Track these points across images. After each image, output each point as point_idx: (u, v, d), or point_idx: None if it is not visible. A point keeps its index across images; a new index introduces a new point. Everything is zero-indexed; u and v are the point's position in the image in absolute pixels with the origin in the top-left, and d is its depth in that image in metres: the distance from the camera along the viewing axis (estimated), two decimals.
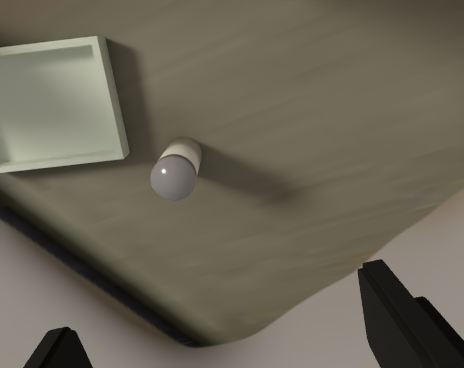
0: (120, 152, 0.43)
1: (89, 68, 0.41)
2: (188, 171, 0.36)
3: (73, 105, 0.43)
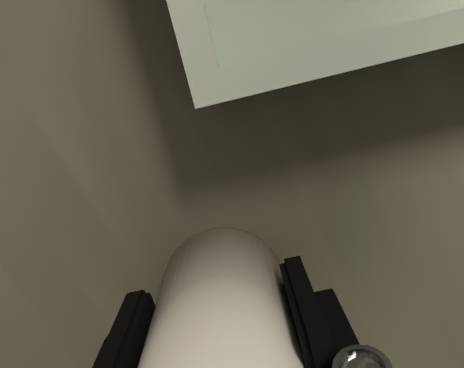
0: (224, 91, 0.09)
1: None
2: None
3: None
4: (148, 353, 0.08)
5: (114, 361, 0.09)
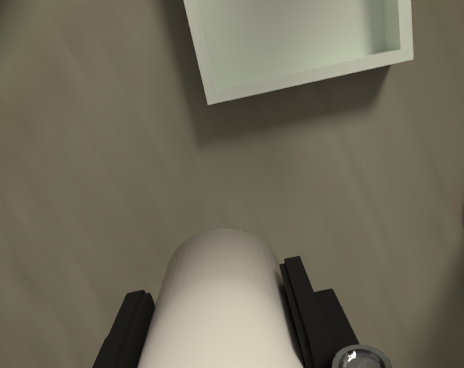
0: (219, 98, 0.24)
1: (350, 34, 0.25)
2: None
3: (288, 1, 0.24)
4: (148, 353, 0.08)
5: (114, 361, 0.09)
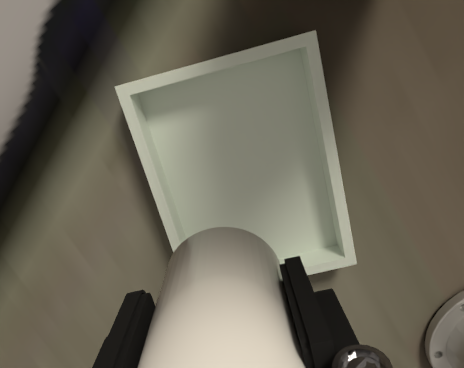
0: None
1: (306, 235, 0.30)
2: None
3: (253, 215, 0.29)
4: (149, 352, 0.08)
5: (114, 361, 0.09)
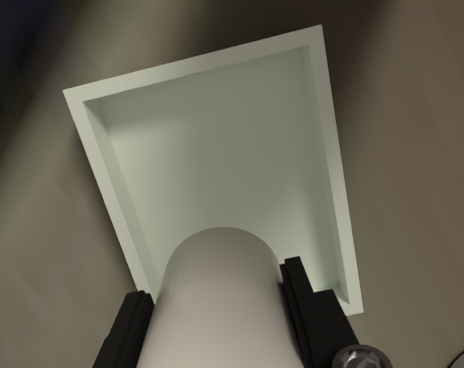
0: None
1: None
2: None
3: None
4: (147, 352, 0.08)
5: (114, 361, 0.09)
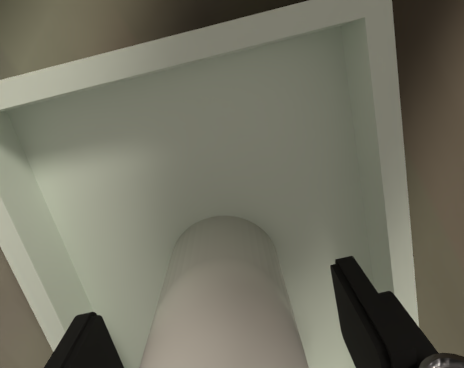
0: None
1: (333, 364, 0.17)
2: None
3: None
4: (158, 322, 0.10)
5: None
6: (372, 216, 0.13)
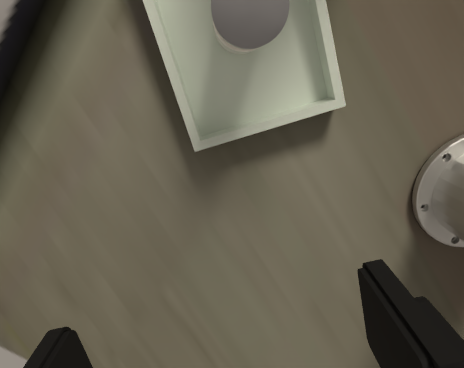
0: (202, 146, 0.32)
1: (299, 88, 0.32)
2: (268, 32, 0.21)
3: (249, 69, 0.32)
4: None
5: None
6: None
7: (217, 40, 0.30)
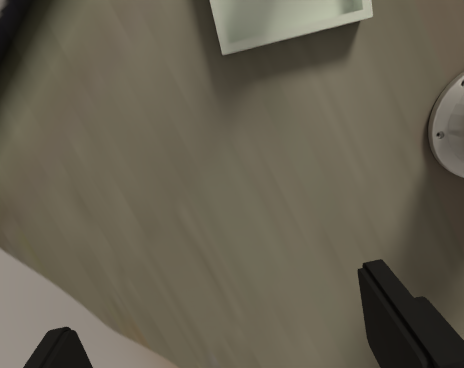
0: (230, 50, 0.32)
1: (327, 1, 0.33)
2: None
3: None
4: None
5: None
6: None
7: None
